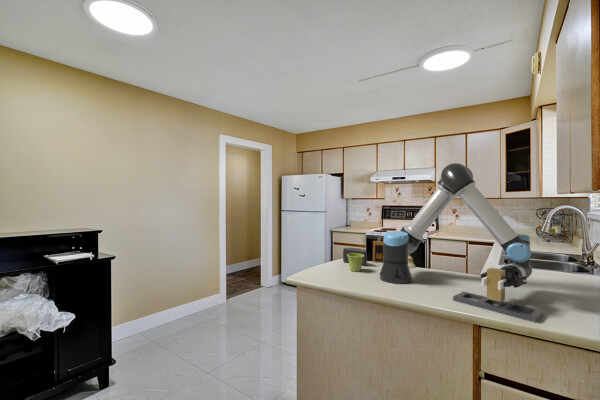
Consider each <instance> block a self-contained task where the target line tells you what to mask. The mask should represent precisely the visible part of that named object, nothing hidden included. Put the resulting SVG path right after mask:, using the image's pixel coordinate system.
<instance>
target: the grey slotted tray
mask: <svg viewBox="0 0 600 400" xmlns="http://www.w3.org/2000/svg"><path fill="white" fill-rule="evenodd" d="M452 301H455V302H458V303H462V304H466V305H469V306H472V307H478V308H481V309H484V310H487V311H488V310H489V311H491V312H494V313H499V314H503V315H507V316H509V317H514V318H517V319H521V320H525V321H528V322H533V323H537V322H538V321H539V320H541V318H542V317H543V316H544V310H543V309H539V308H535V307H530V306H526V305H521V304H519V303H514V302H509V301H506V300H504V301H502V302H498V301H494V300H490V299H487V296H485V295H480V294H476V293H471V292H468V291H461V292H460V293H457V294H455V295H453V296H452ZM488 303H489V304H488ZM498 305H499V306H498Z"/></svg>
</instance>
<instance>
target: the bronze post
mask: <svg viewBox="0 0 600 400" xmlns="http://www.w3.org/2000/svg"><path fill="white" fill-rule="evenodd" d="M486 272H487V285H486V297H487V299H490V300H494V301H498V302H502V301H506V287H505V288H503V289H501V290H498V282H499V281H501V280H503V279H505V270H503V269H500V268H495V267H490V268H487V269H486Z"/></svg>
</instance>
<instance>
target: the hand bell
mask: <svg viewBox="0 0 600 400" xmlns="http://www.w3.org/2000/svg"><path fill="white" fill-rule="evenodd" d="M408 266H409V269H412V268H411V267H414V268H416V265H415V264H414V259H413V257H412V256H411V253H410V254H408Z"/></svg>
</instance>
